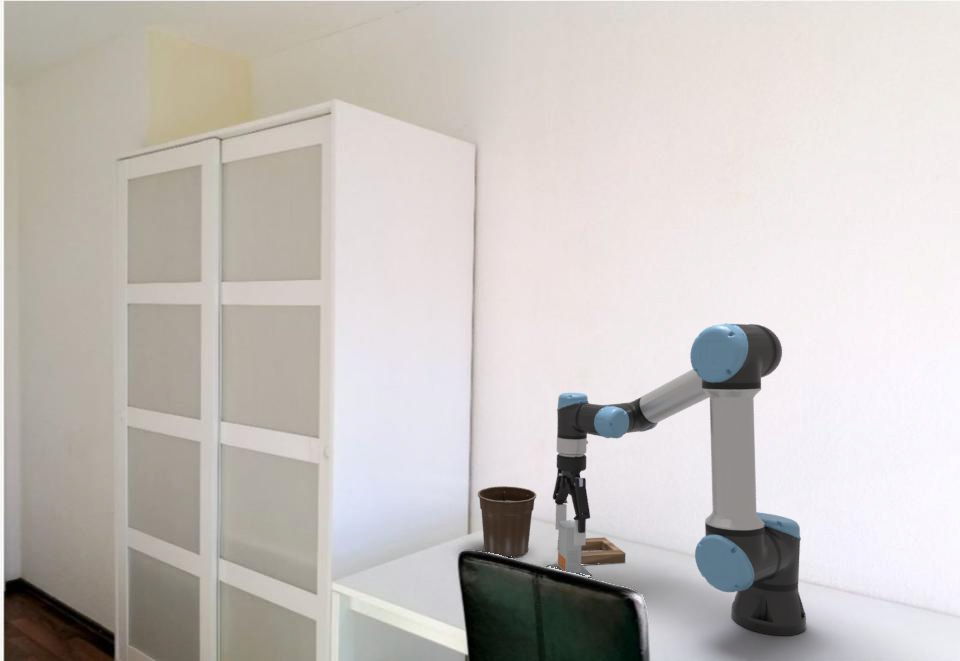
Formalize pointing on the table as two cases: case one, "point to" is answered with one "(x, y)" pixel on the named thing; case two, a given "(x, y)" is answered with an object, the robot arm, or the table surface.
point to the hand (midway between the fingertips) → (569, 536)
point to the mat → (576, 573)
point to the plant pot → (506, 519)
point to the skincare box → (568, 548)
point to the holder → (601, 552)
